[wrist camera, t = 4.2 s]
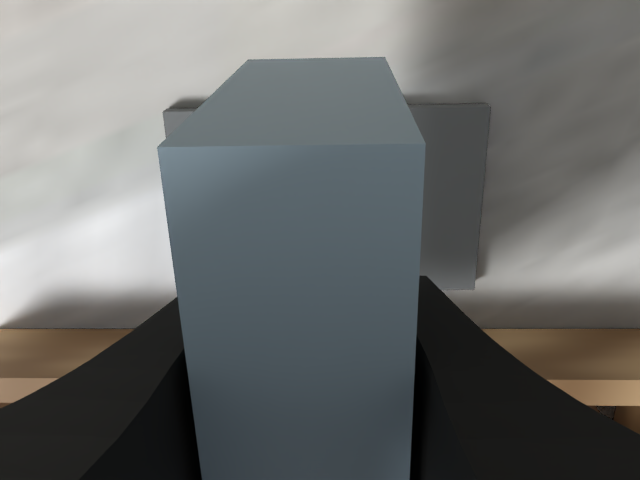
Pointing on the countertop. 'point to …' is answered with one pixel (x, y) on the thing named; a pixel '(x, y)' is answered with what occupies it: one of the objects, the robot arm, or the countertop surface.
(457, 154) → the mat
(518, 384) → the robot arm
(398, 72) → the countertop surface
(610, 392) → the tray
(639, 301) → the countertop surface
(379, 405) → the pale blue block
